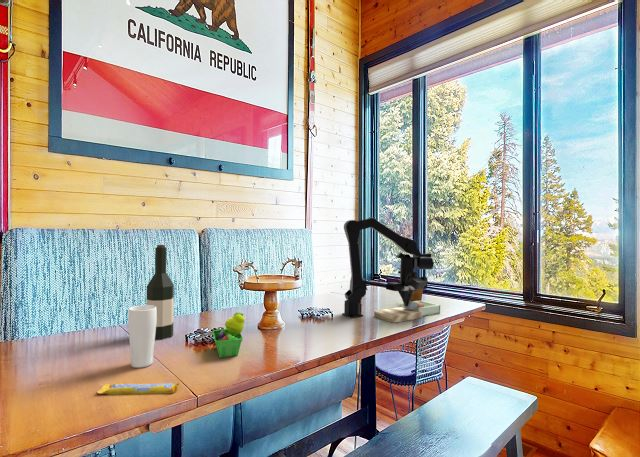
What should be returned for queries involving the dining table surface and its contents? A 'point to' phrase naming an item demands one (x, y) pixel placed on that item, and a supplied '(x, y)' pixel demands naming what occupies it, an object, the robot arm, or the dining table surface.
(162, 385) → the candy bar
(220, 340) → the fruit basket
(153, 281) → the wine bottle
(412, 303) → the slate tile
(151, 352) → the drinking glass
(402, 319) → the board
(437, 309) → the tray
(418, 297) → the disposable coffee cup
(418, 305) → the terracotta tile
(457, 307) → the dining table surface
